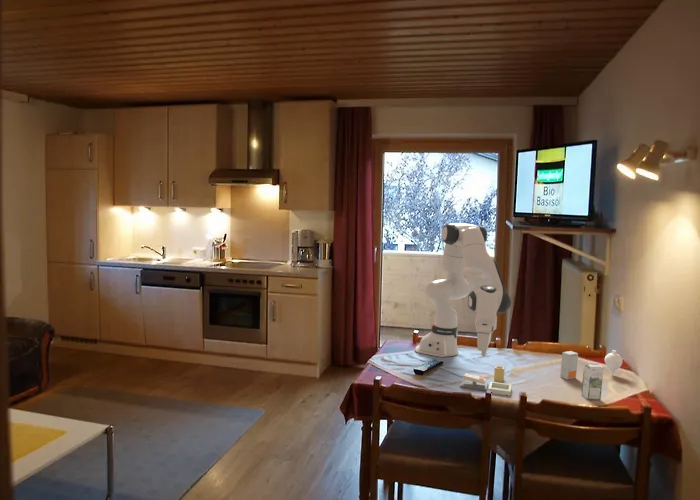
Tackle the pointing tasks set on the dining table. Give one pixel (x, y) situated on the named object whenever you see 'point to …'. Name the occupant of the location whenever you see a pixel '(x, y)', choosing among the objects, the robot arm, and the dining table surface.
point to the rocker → (474, 378)
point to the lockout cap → (499, 373)
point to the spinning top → (613, 361)
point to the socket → (500, 388)
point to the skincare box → (569, 365)
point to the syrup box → (592, 381)
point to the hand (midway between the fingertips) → (483, 355)
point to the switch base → (473, 385)
